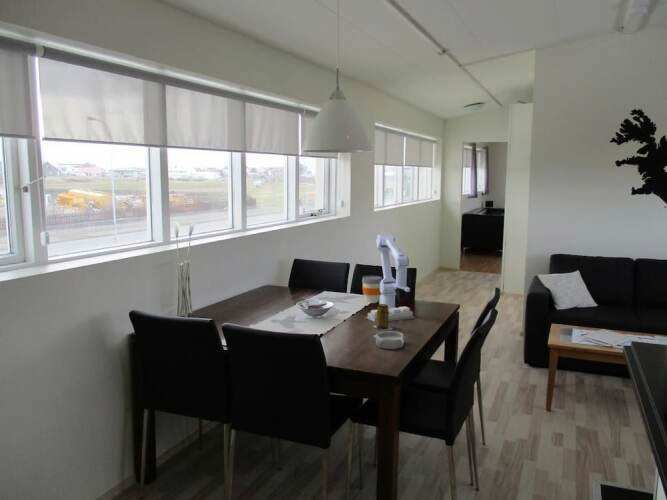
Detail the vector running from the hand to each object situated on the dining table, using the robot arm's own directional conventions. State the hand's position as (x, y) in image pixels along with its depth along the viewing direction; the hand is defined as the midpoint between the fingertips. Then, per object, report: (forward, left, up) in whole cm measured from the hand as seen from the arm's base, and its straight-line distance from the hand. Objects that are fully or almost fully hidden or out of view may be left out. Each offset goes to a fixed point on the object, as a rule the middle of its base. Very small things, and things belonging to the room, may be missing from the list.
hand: (400, 301), depth 302 cm
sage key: (0, -15, -7) cm, 17 cm away
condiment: (+15, -20, -9) cm, 27 cm away
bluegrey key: (0, -3, -7) cm, 7 cm away
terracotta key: (0, -9, -8) cm, 12 cm away
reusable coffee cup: (-37, +4, -9) cm, 38 cm away
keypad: (0, -6, -8) cm, 11 cm away
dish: (+40, -32, -9) cm, 52 cm away
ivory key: (0, +3, -7) cm, 7 cm away
